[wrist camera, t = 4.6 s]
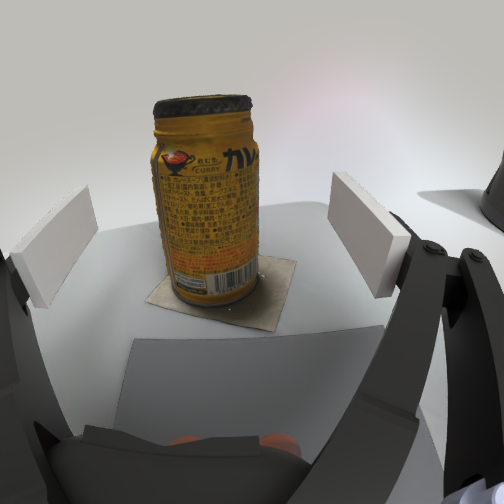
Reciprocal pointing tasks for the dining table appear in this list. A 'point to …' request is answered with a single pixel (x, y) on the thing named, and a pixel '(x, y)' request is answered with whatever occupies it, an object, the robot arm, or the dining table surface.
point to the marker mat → (263, 396)
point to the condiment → (213, 214)
